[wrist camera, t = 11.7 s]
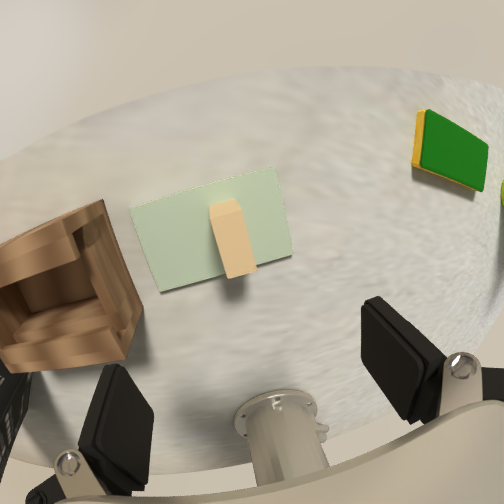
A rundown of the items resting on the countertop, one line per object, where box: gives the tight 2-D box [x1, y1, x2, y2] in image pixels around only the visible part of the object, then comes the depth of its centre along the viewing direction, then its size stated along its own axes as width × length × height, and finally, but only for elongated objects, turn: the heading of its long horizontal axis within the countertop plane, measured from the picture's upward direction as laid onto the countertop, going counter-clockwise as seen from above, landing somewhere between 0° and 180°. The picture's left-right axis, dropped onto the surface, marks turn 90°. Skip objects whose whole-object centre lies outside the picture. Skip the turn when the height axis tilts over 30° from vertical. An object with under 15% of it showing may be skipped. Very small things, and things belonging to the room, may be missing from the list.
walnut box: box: [0, 199, 143, 373], centre depth 22 cm, size 16×12×9 cm
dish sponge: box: [411, 109, 489, 192], centre depth 27 cm, size 7×14×2 cm, turn 82°
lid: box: [129, 167, 294, 292], centre depth 24 cm, size 14×9×7 cm, turn 104°
